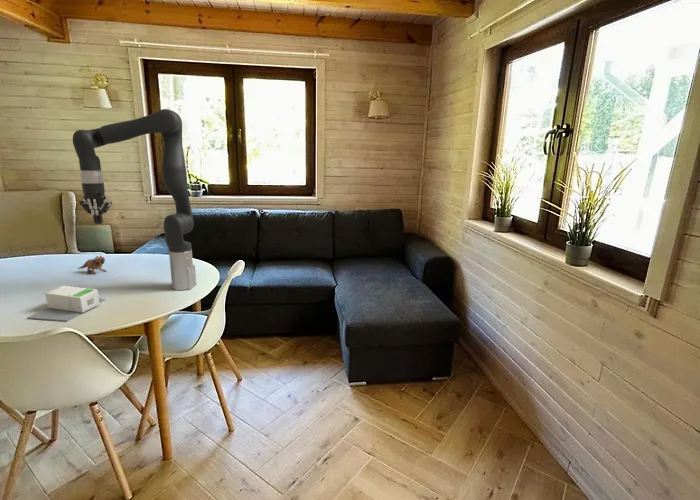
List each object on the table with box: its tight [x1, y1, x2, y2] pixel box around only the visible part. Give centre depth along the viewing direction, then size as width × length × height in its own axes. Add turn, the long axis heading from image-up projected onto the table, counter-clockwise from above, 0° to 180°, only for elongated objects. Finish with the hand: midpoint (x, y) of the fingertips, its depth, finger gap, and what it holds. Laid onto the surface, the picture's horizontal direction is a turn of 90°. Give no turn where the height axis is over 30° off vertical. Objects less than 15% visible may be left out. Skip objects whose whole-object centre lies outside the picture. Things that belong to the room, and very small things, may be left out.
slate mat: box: [26, 297, 106, 323], centre depth 146 cm, size 15×20×1 cm
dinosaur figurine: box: [77, 255, 108, 276], centre depth 185 cm, size 14×6×9 cm, turn 89°
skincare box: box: [45, 285, 101, 314], centre depth 146 cm, size 8×7×16 cm
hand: (98, 223), depth 159 cm, fingers closed
